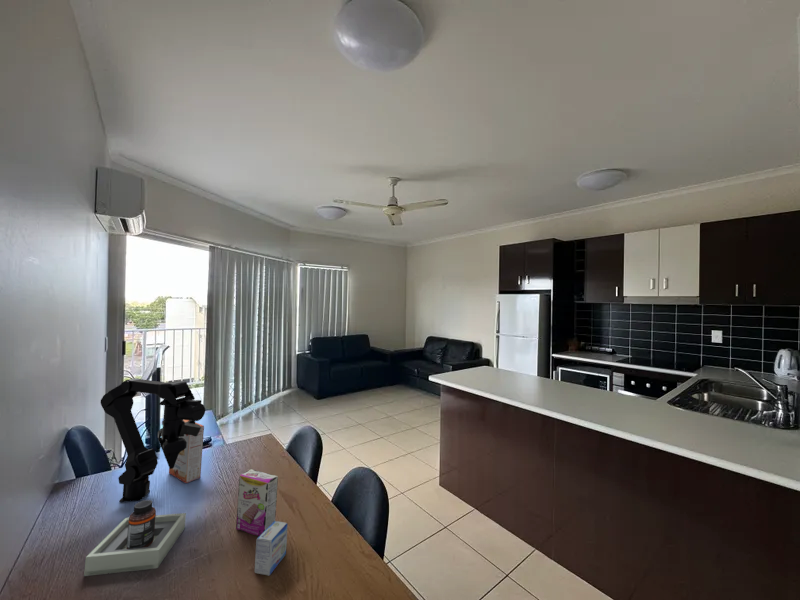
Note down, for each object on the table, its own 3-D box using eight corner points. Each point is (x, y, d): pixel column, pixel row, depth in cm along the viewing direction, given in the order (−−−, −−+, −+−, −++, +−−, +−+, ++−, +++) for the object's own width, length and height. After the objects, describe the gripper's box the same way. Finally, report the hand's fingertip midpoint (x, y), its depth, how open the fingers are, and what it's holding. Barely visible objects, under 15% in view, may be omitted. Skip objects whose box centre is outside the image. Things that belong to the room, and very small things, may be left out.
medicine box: (269, 576, 81) (271, 541, 82) (253, 573, 82) (256, 538, 83) (286, 554, 89) (288, 522, 90) (271, 551, 90) (273, 519, 90)
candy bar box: (234, 530, 98) (238, 475, 99) (247, 520, 103) (250, 468, 104) (263, 539, 95) (267, 482, 96) (275, 529, 99) (279, 475, 100)
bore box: (83, 576, 79) (85, 557, 79) (124, 533, 95) (125, 517, 95) (157, 568, 83) (159, 549, 83) (184, 528, 98) (185, 513, 98)
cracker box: (167, 473, 130) (171, 421, 132) (183, 468, 136) (187, 418, 137) (184, 484, 123) (188, 428, 124) (200, 478, 128) (205, 424, 129)
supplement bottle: (137, 538, 92) (140, 497, 92) (158, 538, 92) (162, 497, 93) (120, 553, 86) (124, 509, 86) (143, 553, 86) (146, 509, 87)
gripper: (205, 420, 112) (201, 466, 111) (194, 408, 125) (191, 449, 124) (166, 427, 104) (162, 476, 103) (159, 413, 118) (155, 456, 117)
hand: (169, 463), depth 112 cm, fingers open, 9 cm apart
